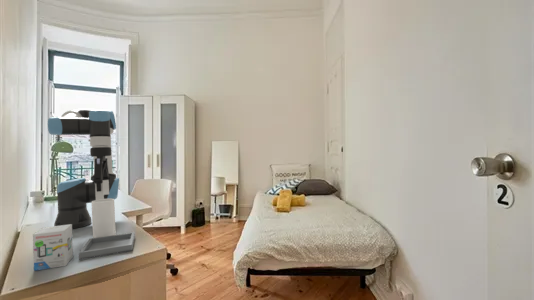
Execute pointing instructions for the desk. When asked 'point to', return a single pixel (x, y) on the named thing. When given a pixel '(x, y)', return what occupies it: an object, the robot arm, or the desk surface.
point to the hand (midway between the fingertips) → (102, 196)
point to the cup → (103, 217)
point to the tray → (107, 245)
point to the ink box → (52, 247)
